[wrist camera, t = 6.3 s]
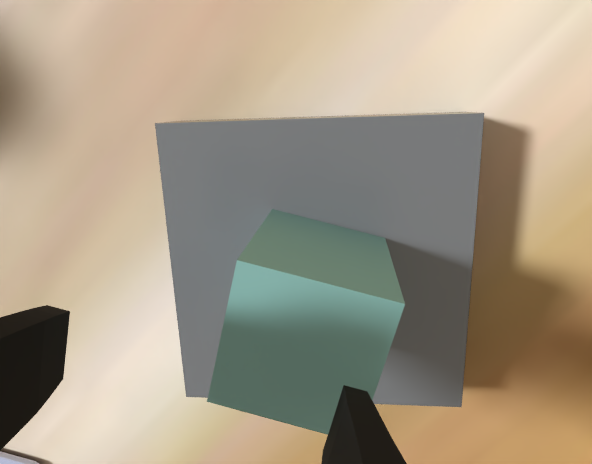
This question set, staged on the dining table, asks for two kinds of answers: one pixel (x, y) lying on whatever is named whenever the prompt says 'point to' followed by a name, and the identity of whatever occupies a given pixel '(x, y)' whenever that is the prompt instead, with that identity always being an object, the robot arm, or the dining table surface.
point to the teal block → (305, 321)
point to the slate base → (334, 210)
